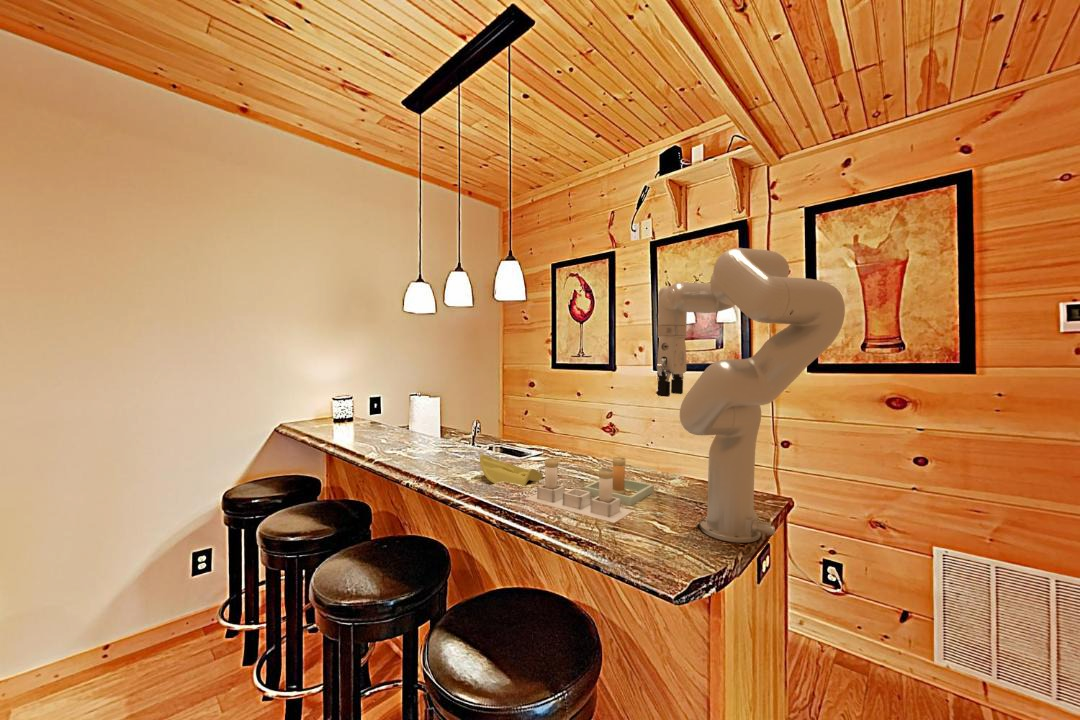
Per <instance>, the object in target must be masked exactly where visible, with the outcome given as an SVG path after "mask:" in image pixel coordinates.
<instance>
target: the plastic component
mask: <svg viewBox="0 0 1080 720" xmlns="http://www.w3.org/2000/svg"><path fill="white" fill-rule="evenodd" d="M479 464H480V467H481V470H482V473H483V475H484V476H485V477H486V479H487V480H488V481H489V482H491V483H493V484H498V483H500V482H505V483H509V484H514V485H520V486H521V487H526V486H527V483H528V482H529V481H530V482H534V483H535V482H538V481H541V480H542V479H543V476H544V473H541V472H540V471H538V470H536V469H534V468H530V469H526V468H523V467H519V466H516V465H512V464H510V463H506V462H503V461H500V460H497V459H495V458H492V457H490V456H488V455H485V454H480V456H479Z"/></svg>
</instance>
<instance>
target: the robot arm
mask: <svg viewBox="0 0 1080 720" xmlns="http://www.w3.org/2000/svg"><path fill="white" fill-rule="evenodd" d="M712 271H713V272H712V275H711V276H710V281H709V283H704V282H703V283H701V282H685V281H682V282H681V281H680V282H676V283H674V284H672V285H670V286H665V287H661V289H659V291H658V307H657V308H658V311H657V338H659V340H658V351H657V364H656V371H657V372H656V375H657V379H656V380H657V396H658V397H665V398H666V397H670V395H671V394H674V395H675V394H677V395H683V394H684V391H683V390H684V374H685V373H686V372H687V348H686V347H687V346H686V344H687V343H686V339H687V322H688V321H687V318H688V317H687V315H688V313H698V314H700V313H703V314H712V313H718V312H722V311H726V310H728V309H731V308H734V307H735V306H736V307H737V308H738V309H739V310H740V311H741V312H742V313H743V314H744V315H745V316H746V317H747V318H748V319H751V320H752V321H754V322H757V323H762V324H775V325H776V324H779V325H781V324H782V325H788V326H787V327H785V328H784V329H782V330H780V331H778V332H777V333H775V334H774V335H772V336H770V337H769V338H768V339H767V340H766V341H765V342H764V343H763V344H762V346H761V348H760V349H759V350H758V351H756V353H754V355H752V356H751V357H748V358H741V359H740V358H739V359H737V358H735V359H733V358H730V359H727V358H726V359H720V360H717V361H715V362H713V363H711V364H709V366H707V367H706V368H705V370H704V371H703V372H702V373H701V375H700V376H699V377H698V379H697V380H696V381H695V383H693V385H692V387H691V388H690V389H689V391H688V392H687V393H686V395H685V396H684V398H683V400H682V402H681V404H680V407H679V420H680V424H681V426H682V427H683V428H684V430H686V432H688V433H690V434H692V435H694V436H695V435H696V436H714V437H713V440H712V441H711V445H710V446H709V451H708V466H707V467H708V468H707V469H708V471H707V473H708V474H707V476H708V477H707V478H708V479H707V512H706V515H707V516H706V518H702V519H701V520H700V521H699V529H700V530H701V531H702V533H704V534H705V535H707V536H709V537H711V538H713V539H716V540H720V541H723V542H730V543H737V544H738V543H740V544H741V543H742V544H744V543H745V544H746V543H752V542H756V541H758V540H759V539H760V538H761V533H763V534H765V535H767V536H768V535H769V536H775V532H776V526H774V525H772V524H771V522H768V521H761V520H760V519H758V517H757V516H758V513H756V512H754V504H755V503H754V502H755V501H754V498H755V496H754V495H755V465H756V457H755V456H756V447H757V438H758V433H759V429H760V426H761V420H762V408H761V406H765V405H768V404H771V403H772V402H774V401H775V400H776V399H777V398H778V397H779V396H781V394H783V392H784V391H785V390H786V389H787V388H788V387H789V386H790V385H791V384H792V383H793V382H794V381H795V380H796V379H797V378H799V376H800V375H801V374H802V372H803V371H804V370H805V369H806V368H807V367H808V366H809V365H811V364H812V363H813V362H814V361H815V360H816V359H817V358H819V356H820V355H822V354H823V353H824V352H825V351H826V350H827V349H828V348H829V347H830V346H831V345H832V343H834V341H835V340H836V339H837V337H838V336H839V333H840V332H841V329H842V327H843V323H844V321H845V314H846V308H845V307H846V306H845V301H844V300H845V299H844V298H843V295H842V294H841V293H842V292H841V291H839V289H838V288H837V287H835V286H834V285H832V284H831V283H829V282H826V281H823V280H818V279H813V278H805V277H804V278H803V277H789V275H790V266H789V262H788V261H787V259H786V258H785V257H784V255H782V254H780V253H778V252H776V251H772V250H767V249H757V248H754V249H753V248H746V247H745V248H743V247H734V248H729V249H728V250H726V251H724V252H723V253H722V254H720V255H719V257H718V258H717V260H716V261H715V263H714V266H713V270H712ZM671 377H672V379H671V381H670V378H671Z"/></svg>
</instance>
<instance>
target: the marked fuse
mask: <svg viewBox="0 0 1080 720" xmlns="http://www.w3.org/2000/svg"><path fill="white" fill-rule="evenodd" d="M612 470H613V488H612V492H613V493H618V494H622V495H626V489H625V479H626V473H625V472H626V457H623V456H613V457H612Z"/></svg>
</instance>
